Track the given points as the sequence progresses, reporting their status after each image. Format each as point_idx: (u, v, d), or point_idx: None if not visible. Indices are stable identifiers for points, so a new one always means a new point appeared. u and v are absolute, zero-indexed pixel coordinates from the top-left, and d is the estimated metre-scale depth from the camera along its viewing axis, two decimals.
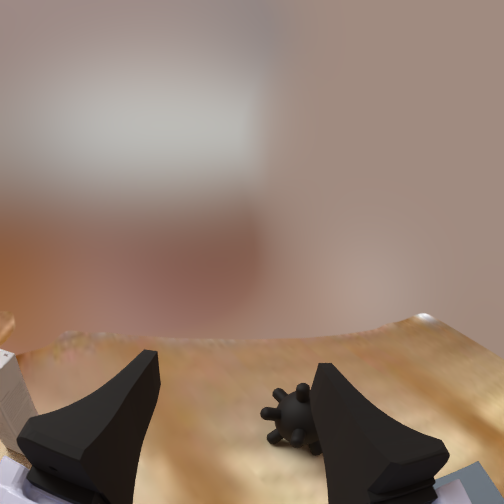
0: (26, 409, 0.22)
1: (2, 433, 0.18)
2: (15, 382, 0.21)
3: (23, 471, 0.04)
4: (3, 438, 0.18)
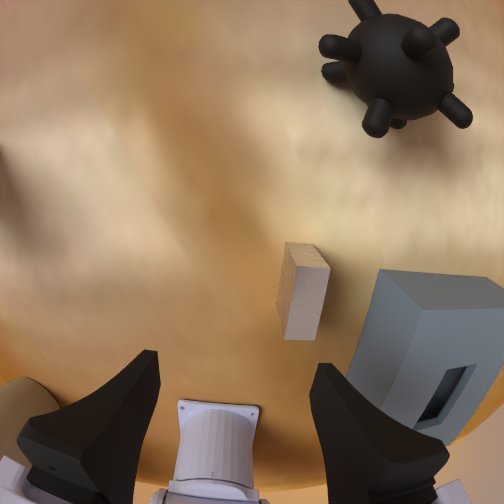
0: None
1: None
2: None
3: (23, 471, 0.04)
4: None
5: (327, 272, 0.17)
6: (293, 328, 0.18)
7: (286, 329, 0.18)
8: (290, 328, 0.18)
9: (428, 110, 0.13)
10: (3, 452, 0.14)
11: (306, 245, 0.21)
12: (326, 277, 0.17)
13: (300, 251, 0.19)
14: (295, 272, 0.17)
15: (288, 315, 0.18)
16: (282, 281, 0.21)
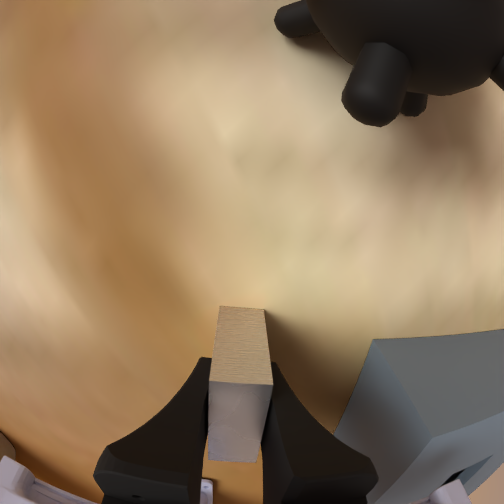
0: None
1: None
2: None
3: (23, 471, 0.04)
4: None
5: (267, 390, 0.09)
6: (219, 450, 0.10)
7: (209, 450, 0.10)
8: (213, 449, 0.10)
9: (477, 74, 0.05)
10: None
11: (252, 314, 0.13)
12: (266, 397, 0.09)
13: (234, 333, 0.11)
14: None
15: None
16: None
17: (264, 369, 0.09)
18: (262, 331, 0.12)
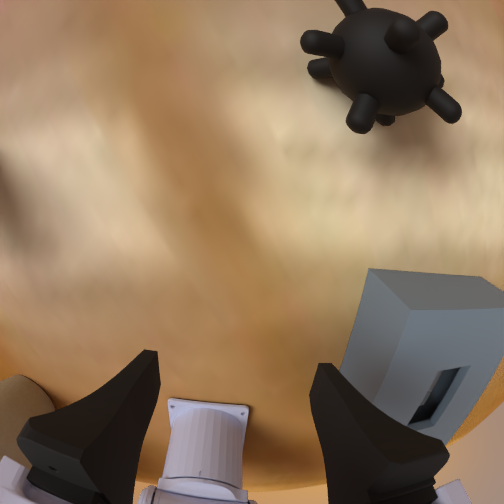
0: None
1: None
2: None
3: (23, 471, 0.04)
4: None
5: None
6: None
7: None
8: None
9: (415, 105, 0.13)
10: None
11: None
12: None
13: None
14: None
15: None
16: None
17: None
18: None
